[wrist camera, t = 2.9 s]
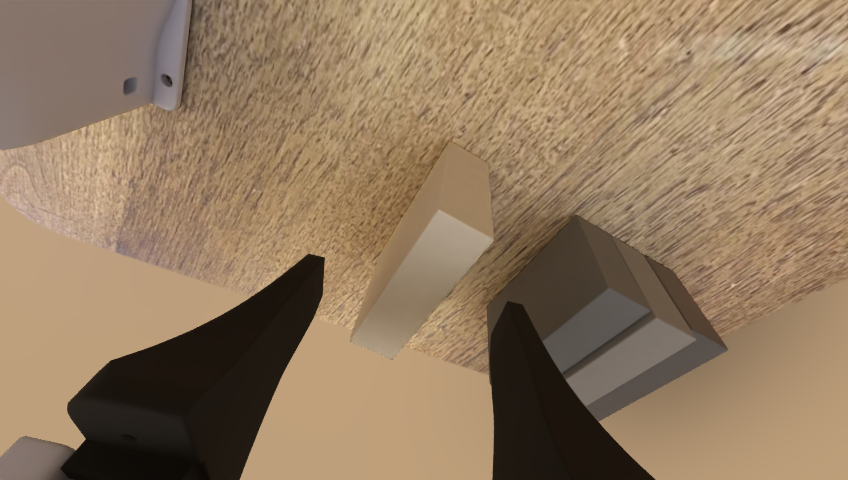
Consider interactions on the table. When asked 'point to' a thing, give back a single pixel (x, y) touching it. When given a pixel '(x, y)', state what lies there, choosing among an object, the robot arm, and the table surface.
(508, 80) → the table surface
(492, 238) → the tan wooden block
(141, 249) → the table surface
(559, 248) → the grey books
